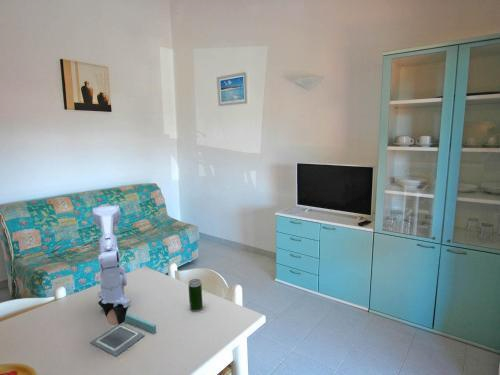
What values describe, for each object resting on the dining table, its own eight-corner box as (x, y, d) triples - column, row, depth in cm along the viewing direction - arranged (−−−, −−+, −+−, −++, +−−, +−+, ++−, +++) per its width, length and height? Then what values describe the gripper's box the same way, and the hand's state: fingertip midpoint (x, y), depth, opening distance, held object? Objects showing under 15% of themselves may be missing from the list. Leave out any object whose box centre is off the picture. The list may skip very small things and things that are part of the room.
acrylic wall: (117, 318, 122) (117, 311, 122) (120, 317, 123) (119, 310, 123) (153, 333, 112) (153, 326, 112) (156, 332, 113) (155, 324, 113)
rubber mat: (90, 343, 108) (89, 340, 108) (119, 324, 118) (119, 322, 118) (116, 356, 101) (115, 354, 101) (144, 336, 111) (144, 333, 111)
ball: (104, 325, 108) (102, 311, 107) (117, 317, 112) (116, 303, 111) (114, 330, 105) (112, 315, 104) (128, 321, 110) (126, 307, 109)
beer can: (192, 313, 125) (191, 286, 123) (187, 307, 129) (186, 280, 127) (204, 309, 128) (203, 282, 126) (199, 303, 132) (198, 277, 130)
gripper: (88, 284, 106) (92, 320, 108) (115, 294, 99) (119, 332, 101) (106, 276, 112) (110, 310, 114) (133, 285, 105) (136, 321, 107)
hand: (115, 320), depth 108 cm, fingers closed on ball, 5 cm apart
